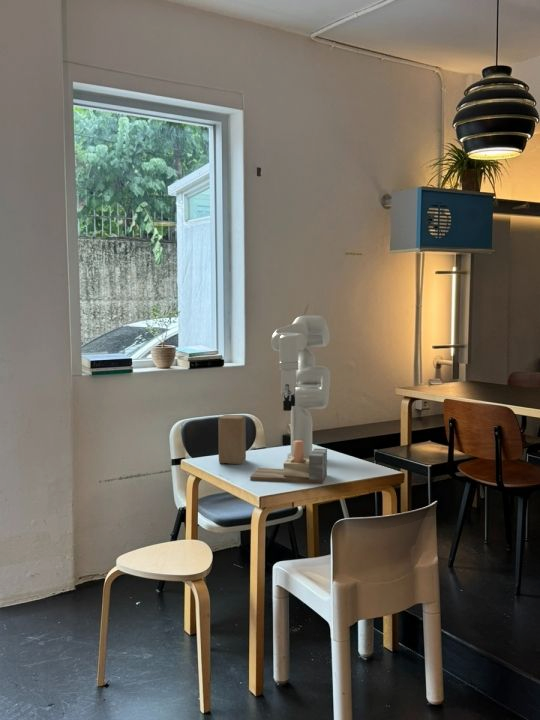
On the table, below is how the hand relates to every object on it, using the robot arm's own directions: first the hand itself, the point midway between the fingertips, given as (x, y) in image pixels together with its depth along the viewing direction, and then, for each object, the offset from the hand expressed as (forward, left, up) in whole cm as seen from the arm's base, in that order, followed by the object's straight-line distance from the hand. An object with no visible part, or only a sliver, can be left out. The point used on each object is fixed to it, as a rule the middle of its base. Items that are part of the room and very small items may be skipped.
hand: (289, 408), depth 277 cm
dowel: (+7, +5, -25) cm, 26 cm away
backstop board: (+7, +1, -26) cm, 27 cm away
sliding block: (+7, +5, -25) cm, 26 cm away
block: (-15, -28, -27) cm, 41 cm away
